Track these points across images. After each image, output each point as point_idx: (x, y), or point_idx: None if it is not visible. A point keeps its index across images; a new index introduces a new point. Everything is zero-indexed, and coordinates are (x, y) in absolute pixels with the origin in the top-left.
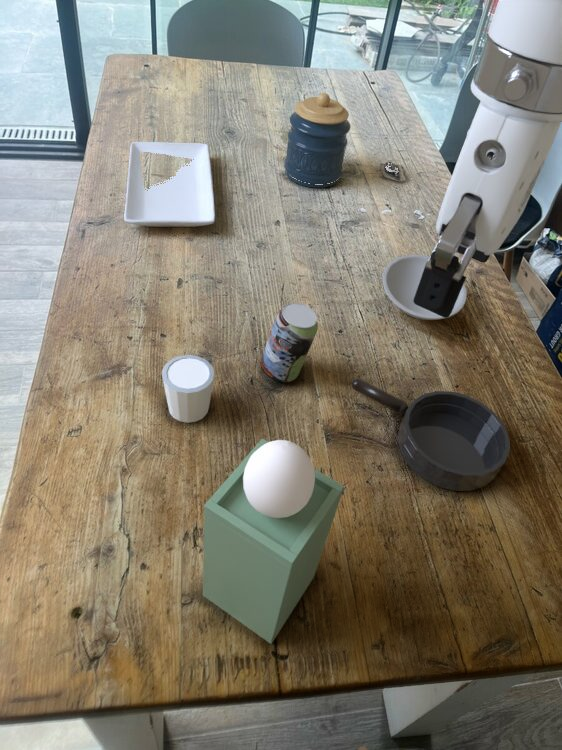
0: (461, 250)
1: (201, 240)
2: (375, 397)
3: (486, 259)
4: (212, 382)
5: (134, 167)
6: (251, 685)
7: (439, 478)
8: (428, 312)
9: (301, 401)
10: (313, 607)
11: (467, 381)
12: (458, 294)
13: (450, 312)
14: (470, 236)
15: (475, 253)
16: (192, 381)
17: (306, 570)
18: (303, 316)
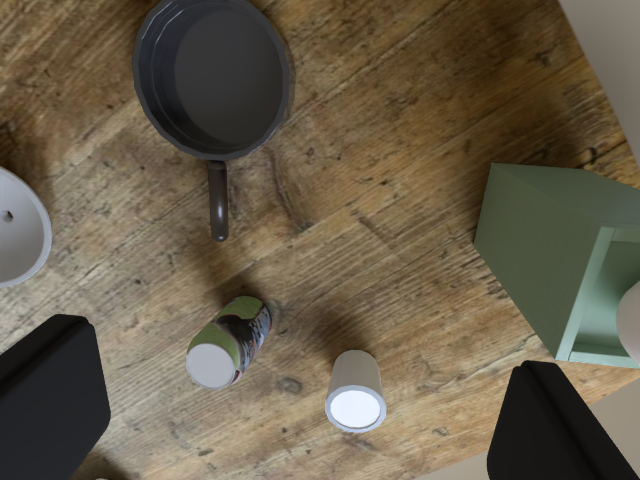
0: (99, 411)
1: (128, 466)
2: (226, 205)
3: (71, 323)
4: (347, 381)
5: None
6: (633, 167)
7: (292, 74)
8: (13, 196)
9: (274, 274)
10: (527, 147)
11: (89, 95)
12: (619, 464)
13: (567, 379)
14: (43, 467)
15: (82, 375)
16: (363, 400)
17: (582, 187)
18: (208, 362)
